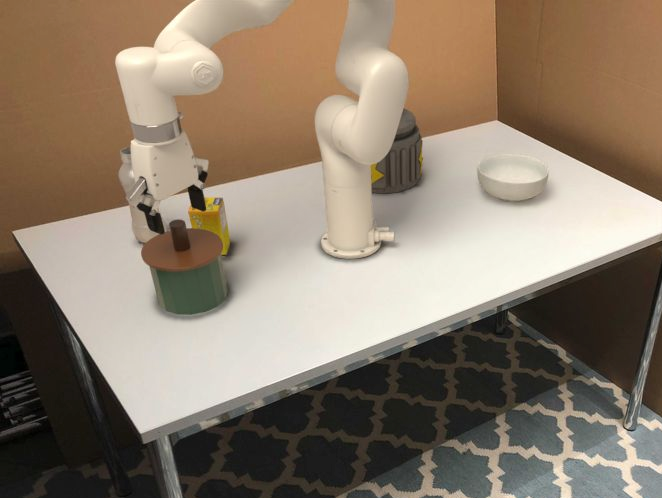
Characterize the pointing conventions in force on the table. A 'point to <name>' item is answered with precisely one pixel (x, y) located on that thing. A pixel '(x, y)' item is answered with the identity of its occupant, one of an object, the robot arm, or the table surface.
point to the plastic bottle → (138, 216)
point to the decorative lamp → (400, 159)
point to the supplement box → (212, 220)
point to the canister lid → (181, 248)
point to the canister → (191, 288)
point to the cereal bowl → (512, 176)
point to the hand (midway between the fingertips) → (178, 220)
